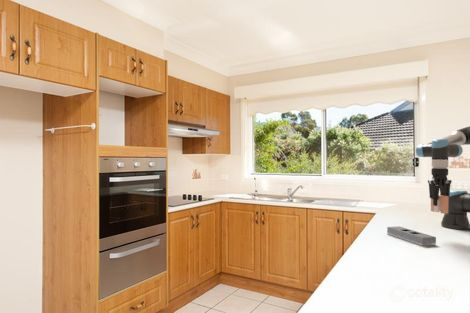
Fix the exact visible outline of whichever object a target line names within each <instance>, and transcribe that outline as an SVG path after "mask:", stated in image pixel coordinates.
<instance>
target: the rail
mask: <svg viewBox="0 0 470 313" xmlns="http://www.w3.org/2000/svg"><path fill="white" fill-rule="evenodd" d="M387 235H389V236H392V237H395V238H398V239H400V240H403V241H406V242H410V243H413V244H415V245H418V246H421V247H429V246H431V247H432V246H437V237H436V236H434V235H430V234H426V233H423V232H419V231H416V230H413V229H409V228H406V227H403V226H387Z"/></svg>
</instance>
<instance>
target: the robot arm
mask: <svg viewBox="0 0 470 313" xmlns="http://www.w3.org/2000/svg"><path fill="white" fill-rule="evenodd" d="M462 145H463V146H464V145H466V146H468V145H470V126H467V127H466V126H465V127H463V128H459V129H457V130H454V131H452V132H451V133H450V134H448V135H447V136H444V137H441V138H439V139H438V138H436V139H435V138H434V139H432V140H431V142H429V143H422V144H417V146H416V147H415V154H416V156H417V157H419V158H431V167H432V168H431V169H430V170H431V174H430V175H432V177H431V179H427V182H428V191H429V199H430V200H431V199H433V205H434V213H440V212H441V207H439V200H438V196H439V195H442V196H449V200H448V213H447V214H443V217H442V220H441V222H440V226H441V227H443V228H446V229H452V230H459V231H462V230H463V231H466V230H467V231H468V230H470V221H469V217H468V213H470V192H468V190H451V184H452V180H450V179H448V175H449V158H458V157H460V156H461V155H462V154H463V149H464V148H463V147H462Z"/></svg>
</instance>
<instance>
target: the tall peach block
mask: <svg viewBox="0 0 470 313" xmlns="http://www.w3.org/2000/svg"><path fill="white" fill-rule="evenodd" d="M438 200H439V207H441V211H440V214H443V215H444V214H447V213H448V200H449V196H442V195H440V194H439V196H438ZM430 211H431V212H434V205H433V199H431V198H430ZM434 213H435V212H434Z"/></svg>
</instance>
